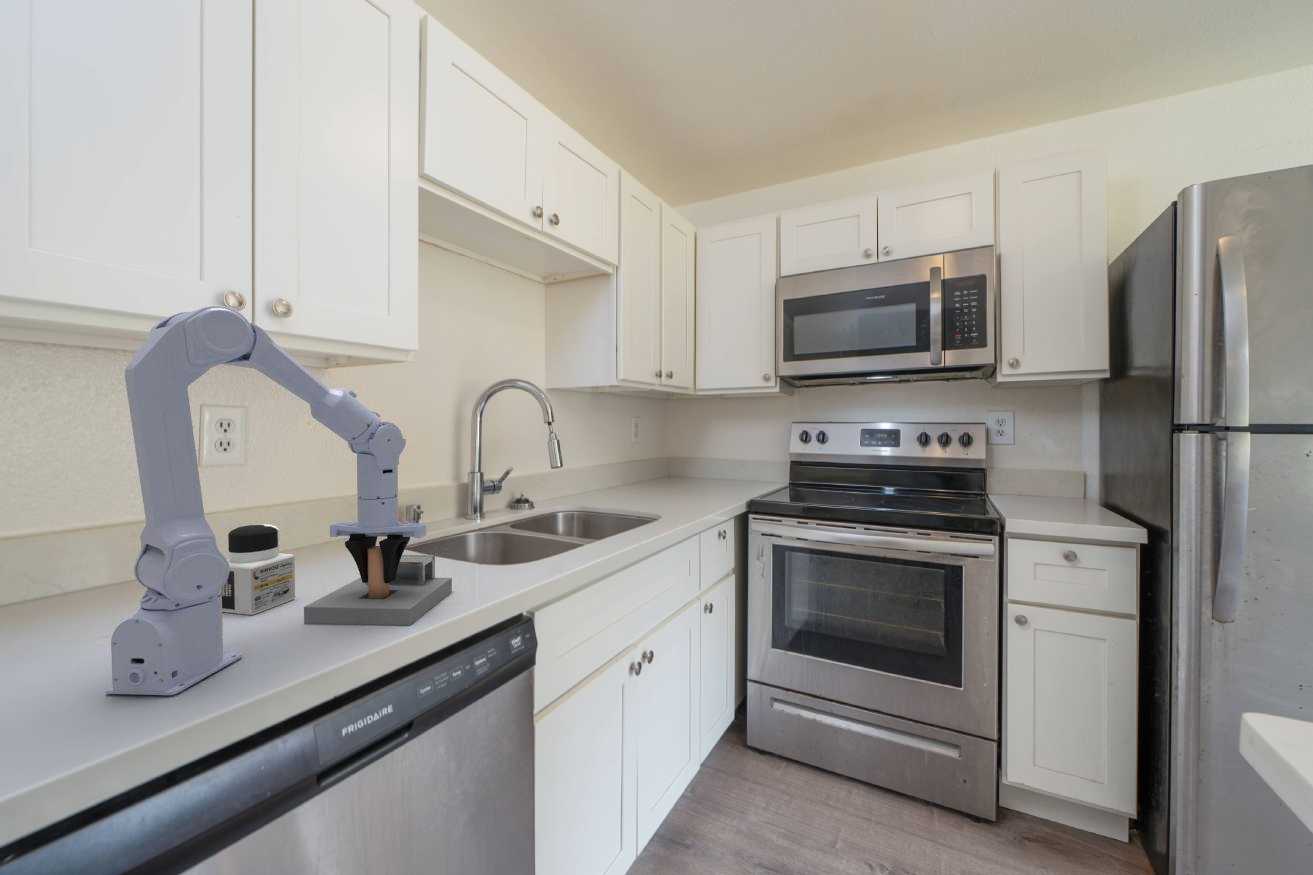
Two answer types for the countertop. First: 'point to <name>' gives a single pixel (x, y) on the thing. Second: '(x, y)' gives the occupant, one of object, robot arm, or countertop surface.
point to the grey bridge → (416, 568)
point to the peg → (376, 575)
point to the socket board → (378, 603)
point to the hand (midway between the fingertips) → (379, 581)
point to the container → (257, 571)
